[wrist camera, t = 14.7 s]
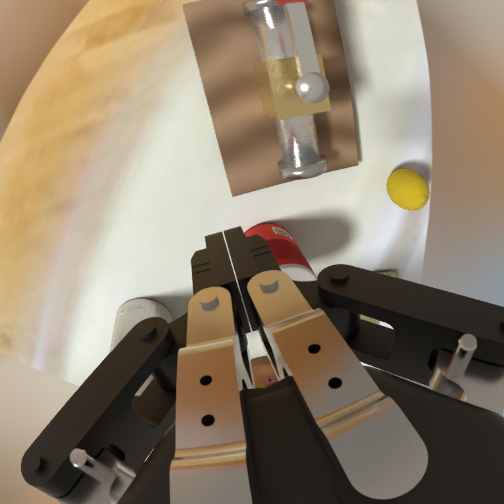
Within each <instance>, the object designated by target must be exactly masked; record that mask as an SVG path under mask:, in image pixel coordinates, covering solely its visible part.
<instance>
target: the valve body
mask: <svg viewBox="0 0 504 504" xmlns="http://www.w3.org/2000/svg"><path fill="white" fill-rule="evenodd" d="M242 8H243V12H244V15H246V16H251V20H252V24H253V28H254V32H255V36H256V40H257V44H258V49H259V53H260V57H261V61H262V62H260V63H256V64H252V65H253V69H254V73H255V78H256V82H257V87H258V91H259V96H260V100H261V105H262V109H263V114H265V115H267V116H269V117H271V118H274V122H275V127H276V132H277V137H278V142H279V147H280V152H281V158H282V159H281V160H280V161H279V162H278V164H277V165H278V170H279V175H280V176H281V177H283V178H286V179H292V180H299V179H308V178H312V177H316V176H319V175H321V174H323V173H324V172H325V171H326V170H327V163H326V157H325V156H324V155H322V154H320V150H319V143H318V137H317V130H316V124H315V117H314V113H320V112H326V111H331V107H330V100H329V94H328V96H327V97H326V98H325V99H324V100H323V101H321V102H319V103H311V102H306V101H303V100H302V99H300V98H299V97H298V96H297V94H296V92H295V89H294V83H295V80H296V79H297V77H298V76H299V74H298V70H297V65H296V60H295V56H294V51H293V47H292V42H291V38H290V34H289V29H288V25H287V21H286V17H285V13H284V9H283V6H278V3H277V0H247V1H245V2H244V3H242ZM316 55H317V60H318V65H319V70H320V74H322V75H323V76H325V71H324V66H323V60H322V55H321V54H316ZM325 78H326V77H325Z"/></svg>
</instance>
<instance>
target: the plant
mask: <svg viewBox="0 0 504 504" xmlns="http://www.w3.org/2000/svg"><path fill="white" fill-rule="evenodd" d="M250 361H251V366H252V372H253V378H254V384H255V388H265V387H269V386H271V385H273V384H275V383H276V382H278V378H277V376H276V374H275V372H274V369H273V367H272V365H271V363H270V361H269V358H268V356H262V357H257V358H254V359H251V360H250Z"/></svg>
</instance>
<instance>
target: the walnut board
mask: <svg viewBox="0 0 504 504" xmlns="http://www.w3.org/2000/svg"><path fill="white" fill-rule="evenodd" d="M245 1H247V0H201V1H197V2H192V3H188V4H184V5H183V10H184V14H185V17H186V21H187V25H188V29H189V33H190V37H191V41H192V45H193V49H194V52H195V56H196V60H197V64H198V68H199V72H200V76H201V79H202V83H203V87H204V91H205V95H206V99H207V102H208V106H209V110H210V114H211V118H212V122H213V125H214V129H215V133H216V137H217V141H218V144H219V148H220V152H221V156H222V160H223V163H224V167H225V171H226V175H227V179H228V182H229V186H230V190H231V193H232V196H233V197H234V196H238V195H241V194H245V193H249V192H252V191H256V190H260V189H263V188H267V187H271V186H274V185H278V184H282V183H286V182H290V181H294V180H292V179H286V178H283V177H281V176H280V175H279V170H278V165H277V164H278V162H279V161H280V160H281V159H282V158H281V152H280V147H279V142H278V137H277V132H276V127H275V122H274V118H271V117H269V116H267V115H265V114H263V109H262V105H261V100H260V96H259V91H258V87H257V82H256V78H255V73H254V69H253V65H252V64H256V63H260V62H262V61H261V57H260V53H259V49H258V44H257V40H256V36H255V32H254V28H253V24H252V20H251V16H246V15H244V12H243V8H242V3H244V2H245ZM305 7H306V11H307V15H308V19H309V23H310V28H311V32H312V37H313V41H314V46H315V50H316V54H321V55H322V60H323V66H324V71H325V77H326V79H327V80H328V83H329V93H328V94H329V100H330V107H331V111H326V112H320V113H314V117H315V124H316V130H317V137H318V143H319V150H320V154H322V155H324V156H325V157H326V163H327V170H326V171H325V172H324V173H326V172H331V171H335V170H339V169H344V168H348V167H352V166H357V165H359V164H358V153H357V142H356V132H355V123H354V115H353V107H352V100H351V93H350V86H349V79H348V73H347V67H346V61H345V56H344V51H343V45H342V40H341V35H340V31H339V26H338V21H337V17H336V13H335V8H334V4H333V0H308V1H307V2H306V3H305Z"/></svg>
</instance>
